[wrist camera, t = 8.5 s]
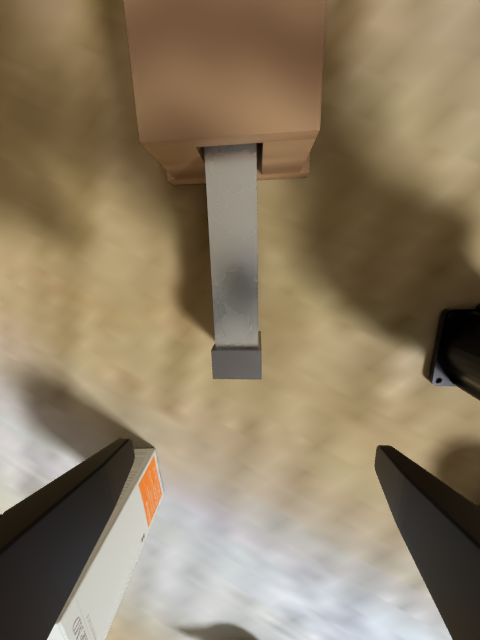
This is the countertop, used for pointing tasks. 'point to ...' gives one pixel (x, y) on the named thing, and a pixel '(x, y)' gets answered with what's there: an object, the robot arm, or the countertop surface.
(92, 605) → the skincare box
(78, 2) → the countertop surface
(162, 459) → the countertop surface
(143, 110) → the block
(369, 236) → the countertop surface
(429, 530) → the robot arm
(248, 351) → the shaft
